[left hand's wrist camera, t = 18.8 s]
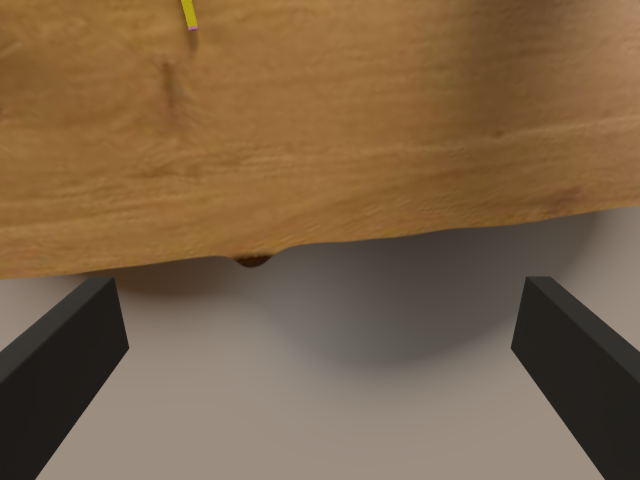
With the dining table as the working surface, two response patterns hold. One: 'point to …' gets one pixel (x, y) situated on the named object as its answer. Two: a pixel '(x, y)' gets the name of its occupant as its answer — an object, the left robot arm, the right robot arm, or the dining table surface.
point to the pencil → (190, 15)
